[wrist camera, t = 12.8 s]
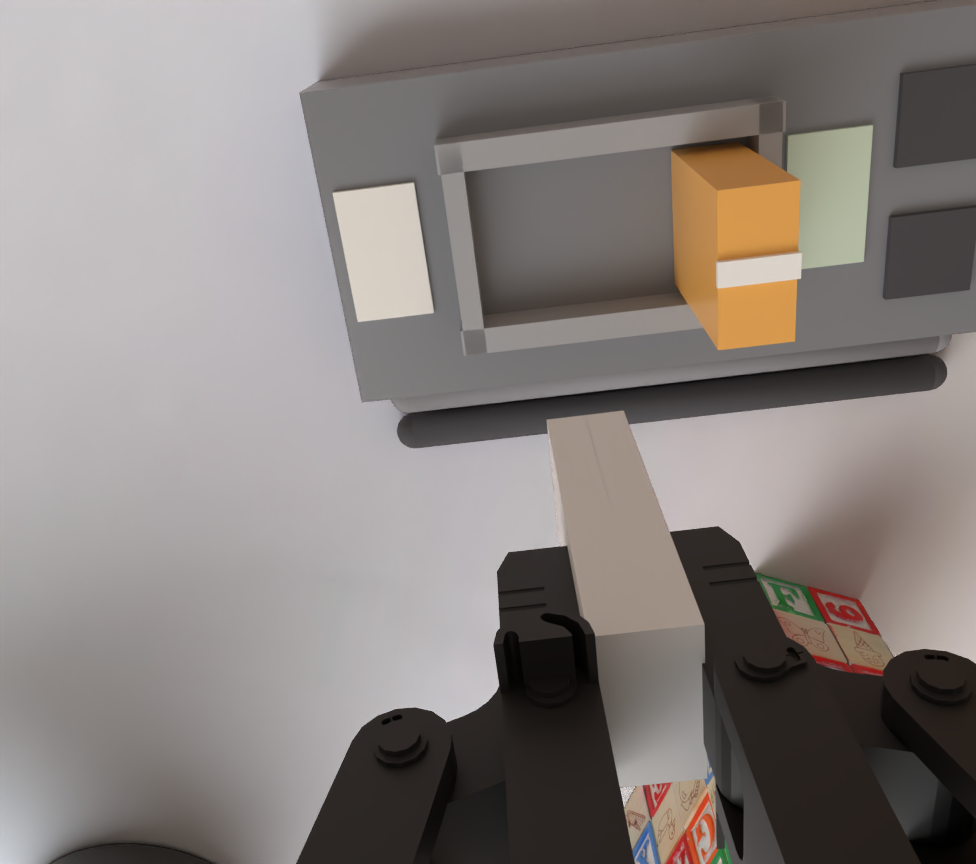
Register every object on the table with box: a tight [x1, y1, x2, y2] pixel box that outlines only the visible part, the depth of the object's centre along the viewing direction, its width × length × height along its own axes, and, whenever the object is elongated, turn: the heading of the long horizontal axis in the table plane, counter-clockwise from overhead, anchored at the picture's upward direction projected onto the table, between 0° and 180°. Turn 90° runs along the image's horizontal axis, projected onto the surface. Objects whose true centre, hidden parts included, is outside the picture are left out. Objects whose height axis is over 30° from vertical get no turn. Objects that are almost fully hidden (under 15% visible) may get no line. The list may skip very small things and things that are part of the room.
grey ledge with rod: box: [391, 335, 951, 448], centre depth 40 cm, size 25×3×2 cm, turn 97°
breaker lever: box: [671, 142, 802, 350], centre depth 30 cm, size 2×5×7 cm, turn 7°
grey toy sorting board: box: [300, 0, 976, 402], centre depth 35 cm, size 26×12×6 cm, turn 97°
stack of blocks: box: [624, 573, 894, 864], centre depth 45 cm, size 21×6×12 cm, turn 162°
